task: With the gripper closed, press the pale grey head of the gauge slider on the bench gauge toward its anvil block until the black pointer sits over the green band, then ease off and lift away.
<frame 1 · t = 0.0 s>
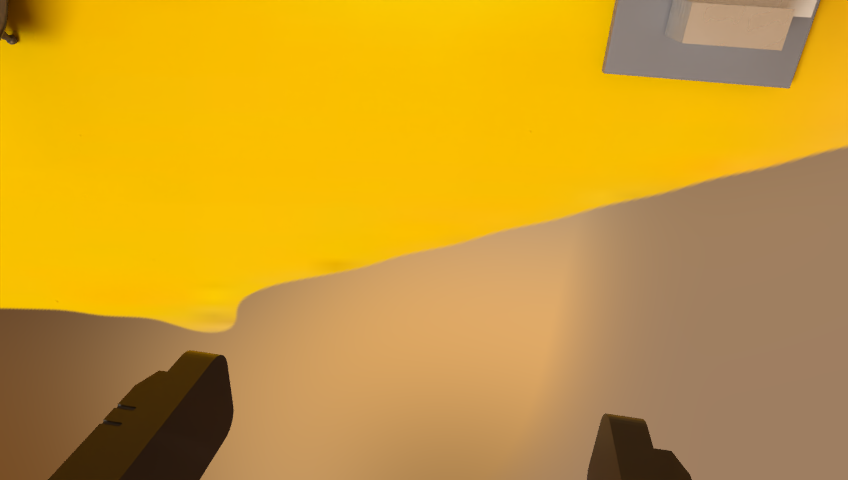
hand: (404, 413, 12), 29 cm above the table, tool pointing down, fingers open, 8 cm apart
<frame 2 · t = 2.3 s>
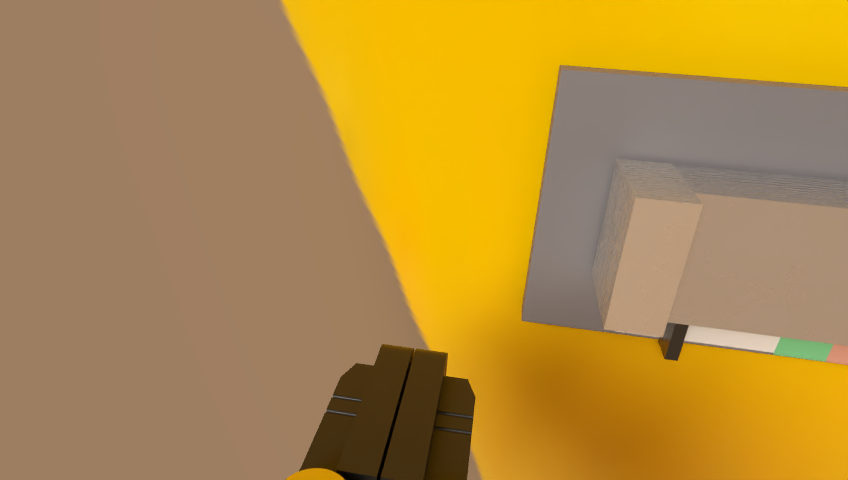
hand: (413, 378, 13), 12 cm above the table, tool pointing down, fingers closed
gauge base: (845, 232, 22), on the table
gauge slider: (744, 290, 20), point 3 cm above the table, slide at 0.0 cm
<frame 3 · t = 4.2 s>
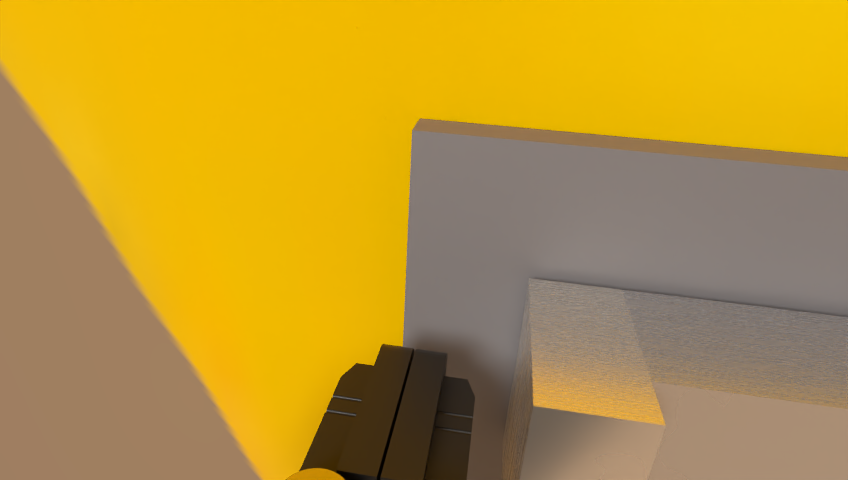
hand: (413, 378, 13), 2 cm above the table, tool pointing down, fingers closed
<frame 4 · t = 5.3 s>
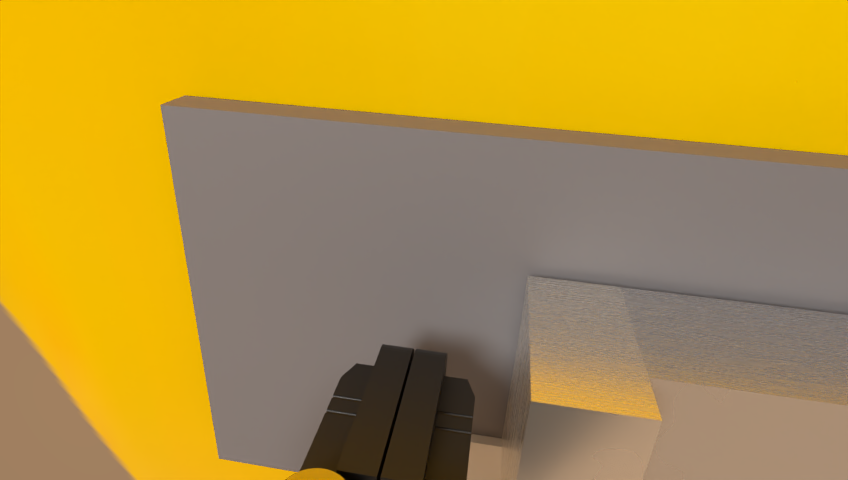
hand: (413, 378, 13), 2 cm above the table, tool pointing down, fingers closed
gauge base: (652, 351, 14), on the table
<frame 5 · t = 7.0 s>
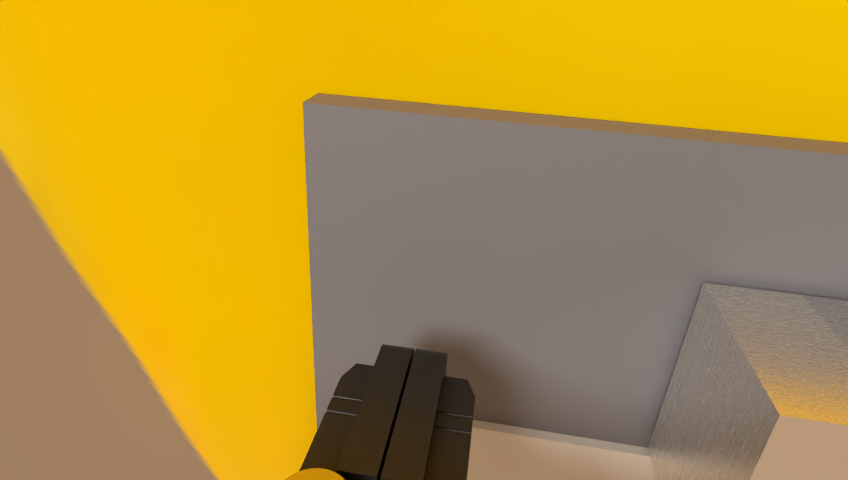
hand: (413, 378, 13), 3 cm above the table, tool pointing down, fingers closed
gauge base: (781, 356, 14), on the table
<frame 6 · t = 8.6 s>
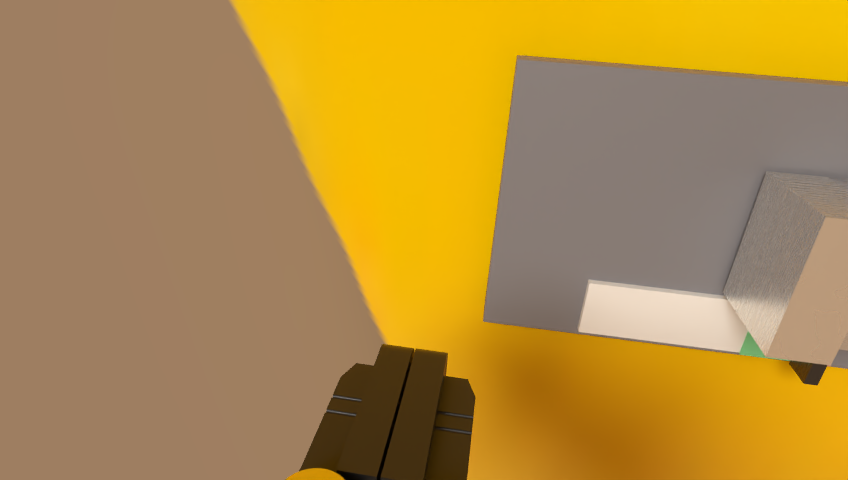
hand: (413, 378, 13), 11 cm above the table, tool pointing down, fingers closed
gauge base: (810, 229, 21), on the table
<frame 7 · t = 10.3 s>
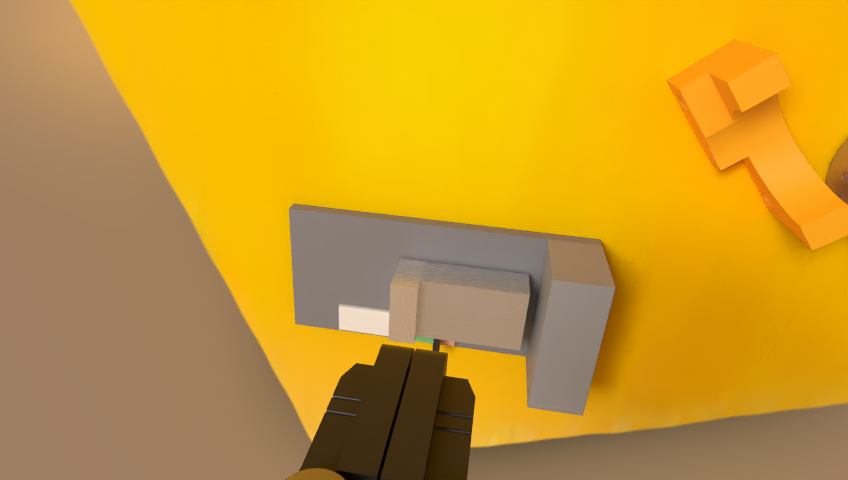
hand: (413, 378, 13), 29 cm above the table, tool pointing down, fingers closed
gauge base: (437, 281, 45), on the table
pipe clamp: (736, 135, 37), on the table
gauge slider: (457, 321, 42), point 3 cm above the table, slide at 6.6 cm
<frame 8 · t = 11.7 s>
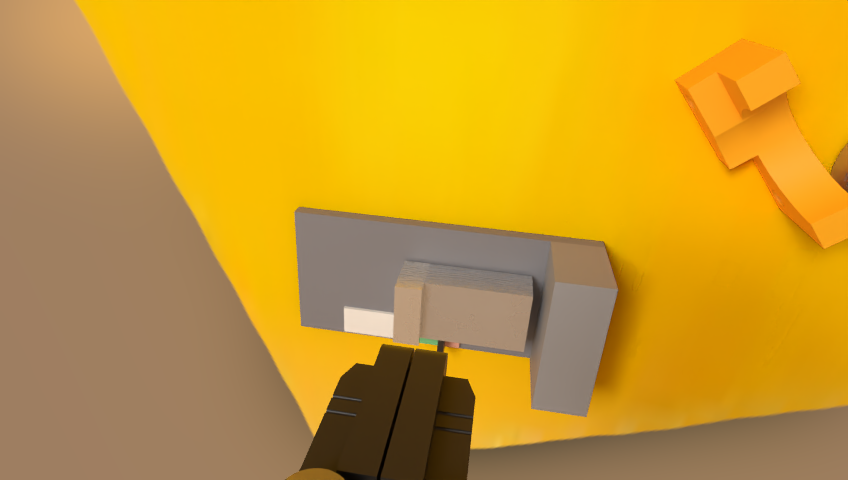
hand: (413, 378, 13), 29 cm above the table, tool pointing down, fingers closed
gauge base: (441, 283, 45), on the table
pipe clamp: (746, 134, 37), on the table
gauge slider: (461, 323, 43), point 3 cm above the table, slide at 6.6 cm
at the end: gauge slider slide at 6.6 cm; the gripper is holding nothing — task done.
